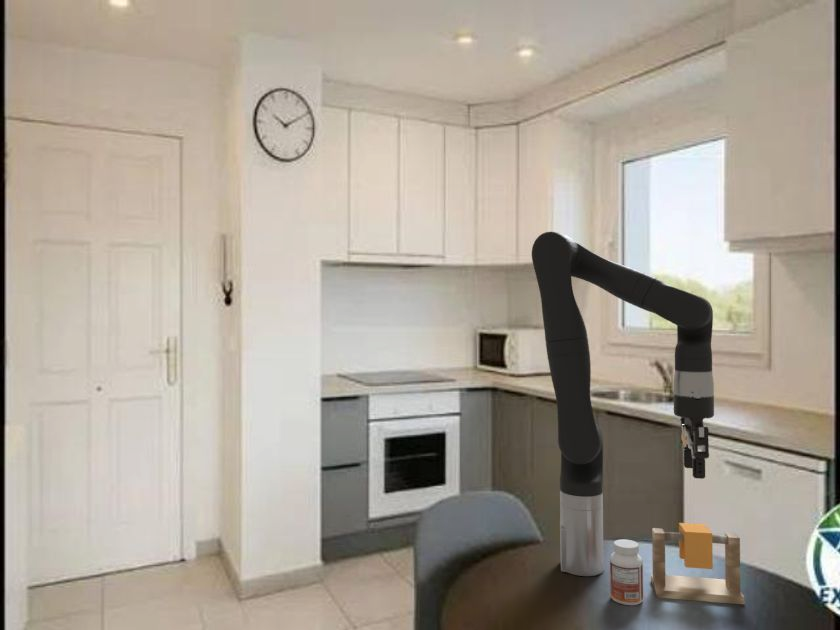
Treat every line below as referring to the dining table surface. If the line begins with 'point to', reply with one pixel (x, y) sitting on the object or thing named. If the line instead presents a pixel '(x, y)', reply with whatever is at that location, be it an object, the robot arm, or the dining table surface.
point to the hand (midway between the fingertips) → (694, 472)
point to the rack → (697, 586)
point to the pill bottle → (626, 573)
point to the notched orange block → (696, 546)
